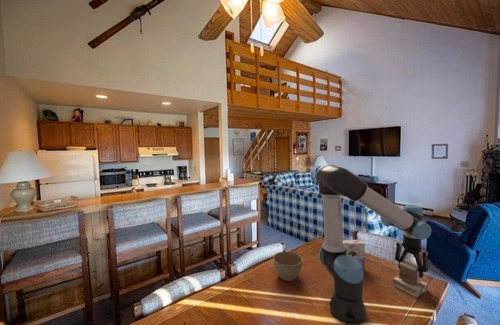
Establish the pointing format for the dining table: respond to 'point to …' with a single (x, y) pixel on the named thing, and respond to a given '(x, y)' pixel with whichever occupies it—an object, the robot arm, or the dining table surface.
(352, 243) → the candy box
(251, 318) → the dining table surface
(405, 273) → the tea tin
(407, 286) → the riser block
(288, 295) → the dining table surface
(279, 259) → the planter bowl
